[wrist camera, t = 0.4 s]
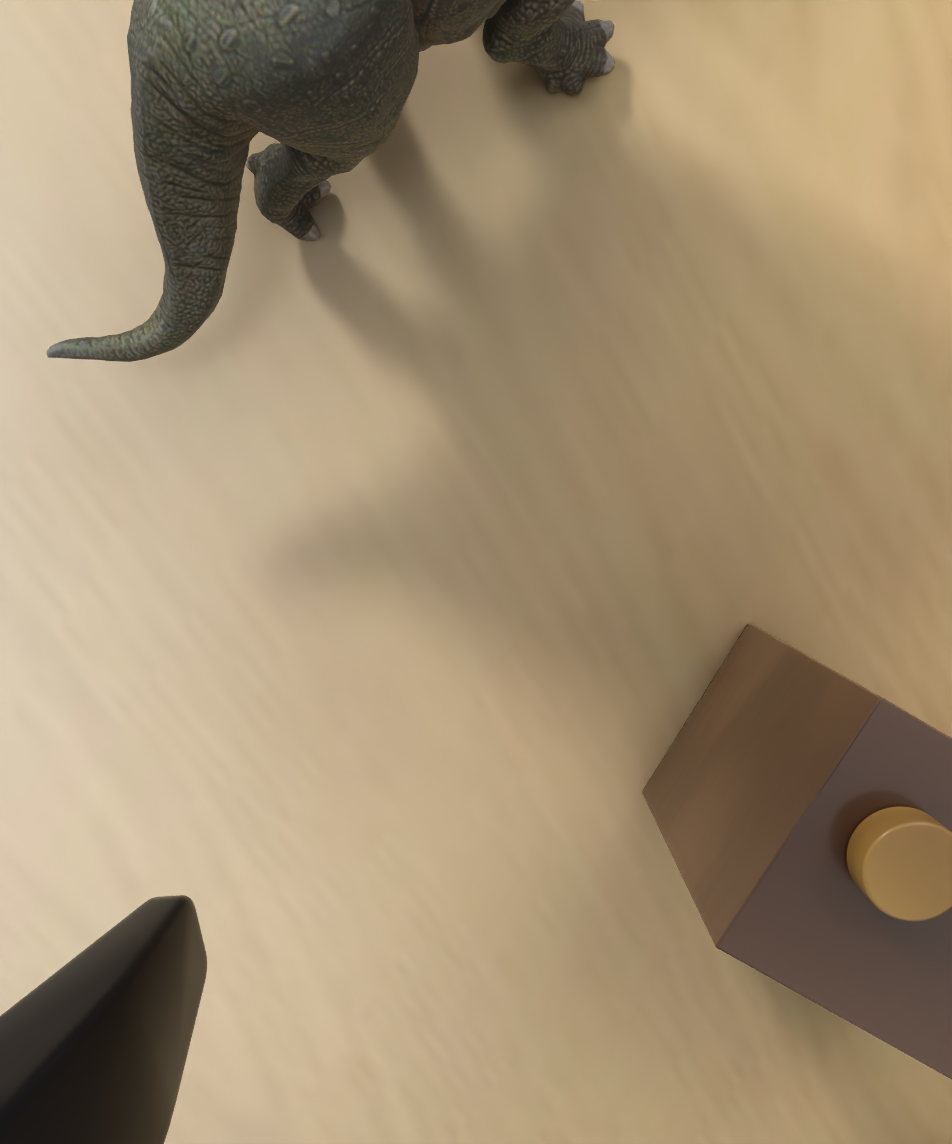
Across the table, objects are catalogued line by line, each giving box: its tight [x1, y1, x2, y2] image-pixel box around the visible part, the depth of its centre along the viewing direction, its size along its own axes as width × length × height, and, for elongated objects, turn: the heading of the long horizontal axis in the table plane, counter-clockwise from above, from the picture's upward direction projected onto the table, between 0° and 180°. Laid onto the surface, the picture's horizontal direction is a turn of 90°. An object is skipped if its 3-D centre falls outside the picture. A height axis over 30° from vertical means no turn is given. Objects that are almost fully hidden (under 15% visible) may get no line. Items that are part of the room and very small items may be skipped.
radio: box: [642, 623, 952, 1079], centre depth 20 cm, size 6×10×9 cm, turn 60°
